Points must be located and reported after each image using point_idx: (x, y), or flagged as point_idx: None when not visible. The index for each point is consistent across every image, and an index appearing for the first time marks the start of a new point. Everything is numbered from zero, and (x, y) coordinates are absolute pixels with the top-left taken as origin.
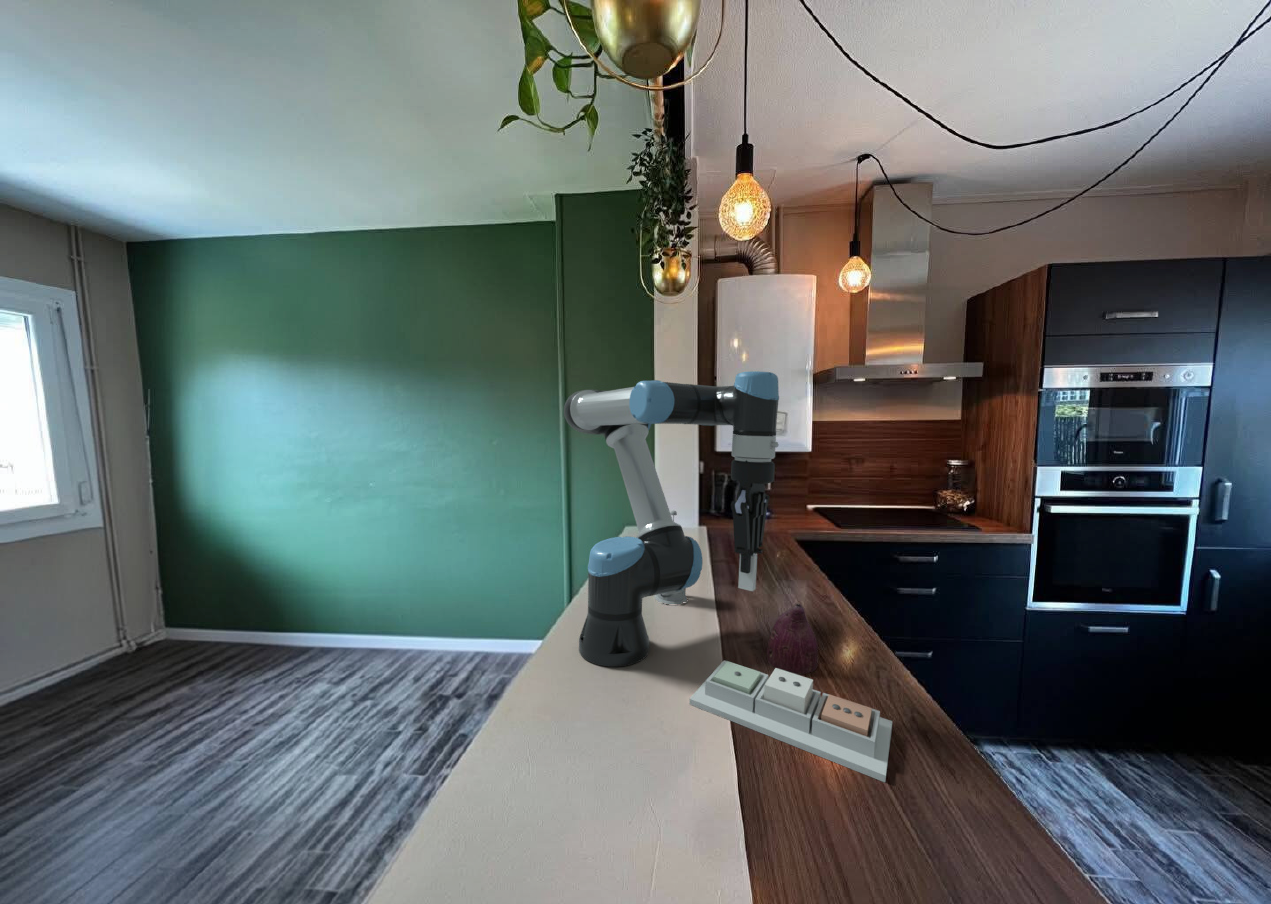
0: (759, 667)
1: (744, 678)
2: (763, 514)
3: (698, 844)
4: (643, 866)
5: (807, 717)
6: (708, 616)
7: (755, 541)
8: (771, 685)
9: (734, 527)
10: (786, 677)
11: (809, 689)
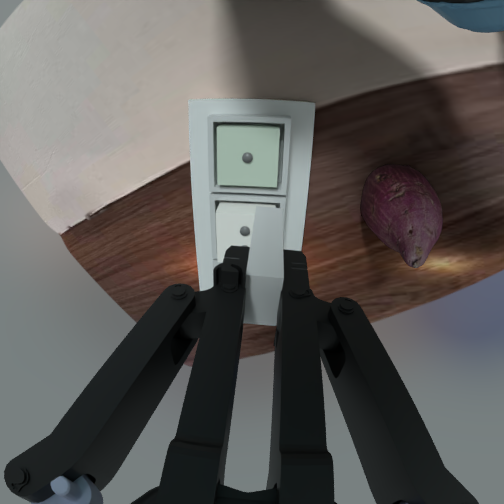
0: (353, 158)
1: (241, 170)
2: (363, 467)
3: (54, 198)
4: (25, 177)
5: (212, 256)
6: (479, 49)
7: (275, 359)
8: (220, 221)
9: (98, 377)
10: None
11: None
